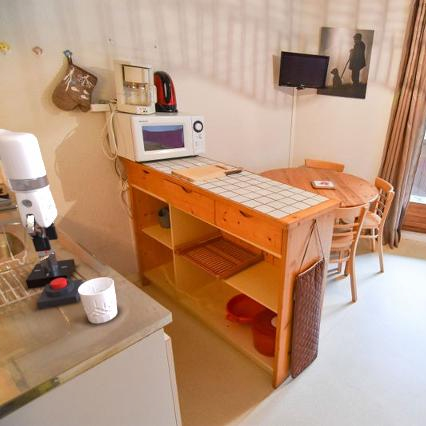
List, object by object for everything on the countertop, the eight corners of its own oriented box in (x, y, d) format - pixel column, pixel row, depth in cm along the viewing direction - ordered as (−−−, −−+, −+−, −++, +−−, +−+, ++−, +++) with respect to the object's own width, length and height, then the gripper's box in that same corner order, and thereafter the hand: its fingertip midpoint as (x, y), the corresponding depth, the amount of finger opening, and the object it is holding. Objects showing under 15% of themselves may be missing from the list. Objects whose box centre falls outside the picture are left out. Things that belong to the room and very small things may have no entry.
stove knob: (56, 271, 100) (51, 254, 98) (40, 273, 98) (35, 255, 96) (60, 264, 103) (55, 247, 101) (45, 266, 102) (39, 249, 99)
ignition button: (50, 290, 91) (48, 285, 90) (53, 283, 94) (52, 278, 93) (65, 288, 92) (64, 283, 91) (68, 281, 95) (67, 276, 94)
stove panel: (27, 288, 96) (24, 280, 95) (38, 271, 104) (36, 263, 103) (68, 282, 100) (66, 274, 99) (75, 266, 108) (73, 258, 107)
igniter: (38, 308, 89) (34, 297, 87) (48, 290, 96) (44, 279, 94) (77, 302, 92) (74, 291, 91) (84, 284, 100) (81, 274, 98)
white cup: (102, 328, 84) (94, 297, 80) (78, 321, 86) (70, 290, 82) (126, 309, 91) (120, 280, 87) (104, 303, 93) (97, 274, 89)
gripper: (36, 192, 75) (55, 258, 82) (57, 172, 89) (71, 230, 96) (-6, 195, 72) (18, 263, 79) (22, 173, 86) (40, 233, 93)
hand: (47, 244), depth 87 cm, fingers open, 5 cm apart
